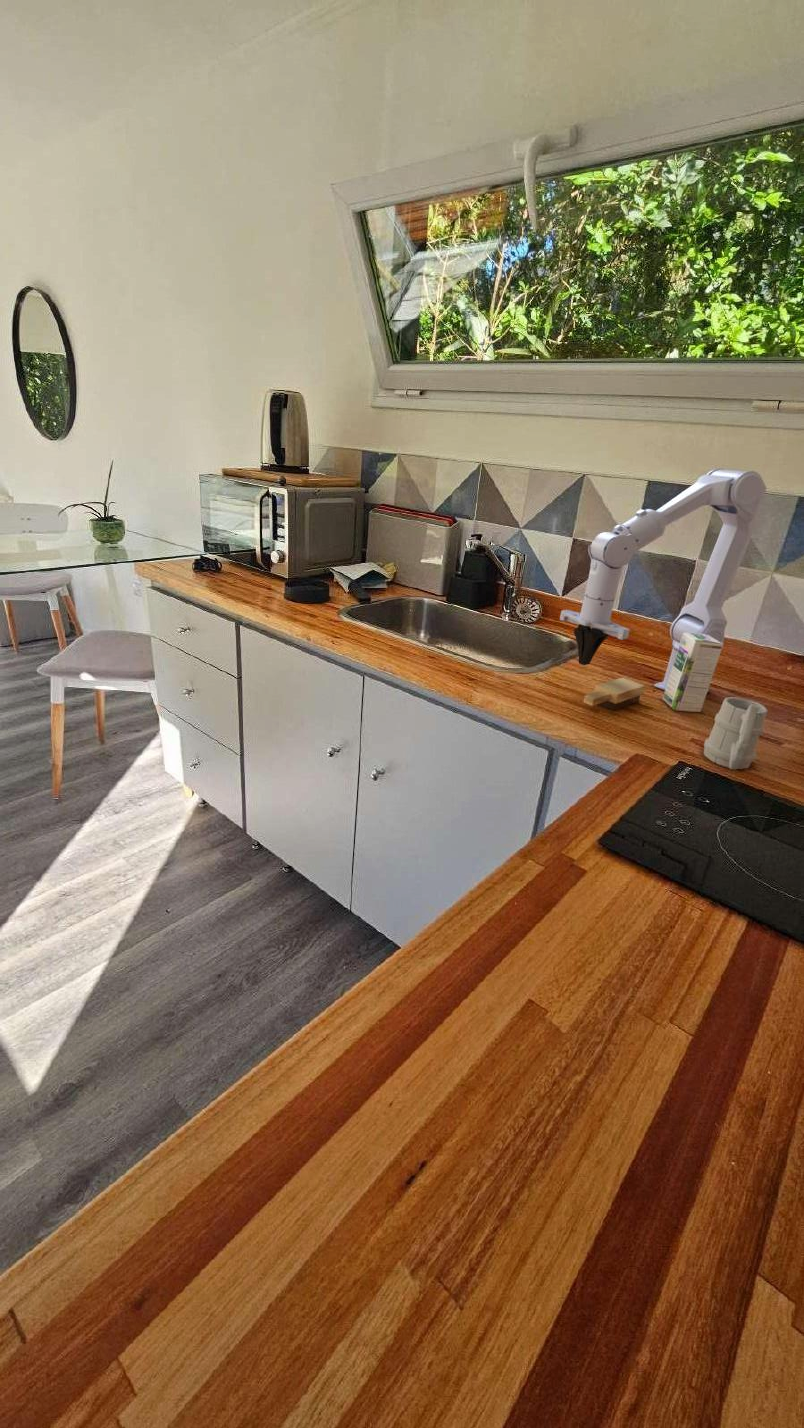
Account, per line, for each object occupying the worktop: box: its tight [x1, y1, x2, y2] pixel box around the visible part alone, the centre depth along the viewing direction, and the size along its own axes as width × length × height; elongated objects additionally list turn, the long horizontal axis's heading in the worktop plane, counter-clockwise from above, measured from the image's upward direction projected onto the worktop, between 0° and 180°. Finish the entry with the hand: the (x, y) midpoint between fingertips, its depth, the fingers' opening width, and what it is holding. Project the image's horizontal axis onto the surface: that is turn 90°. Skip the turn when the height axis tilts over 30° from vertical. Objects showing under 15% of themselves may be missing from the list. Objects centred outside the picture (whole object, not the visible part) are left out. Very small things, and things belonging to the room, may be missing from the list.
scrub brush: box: [582, 676, 646, 711], centre depth 116 cm, size 16×5×4 cm, turn 129°
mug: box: [703, 696, 768, 770], centre depth 95 cm, size 8×12×12 cm, turn 158°
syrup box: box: [662, 633, 724, 713], centre depth 117 cm, size 6×6×14 cm
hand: (584, 663), depth 121 cm, fingers closed
